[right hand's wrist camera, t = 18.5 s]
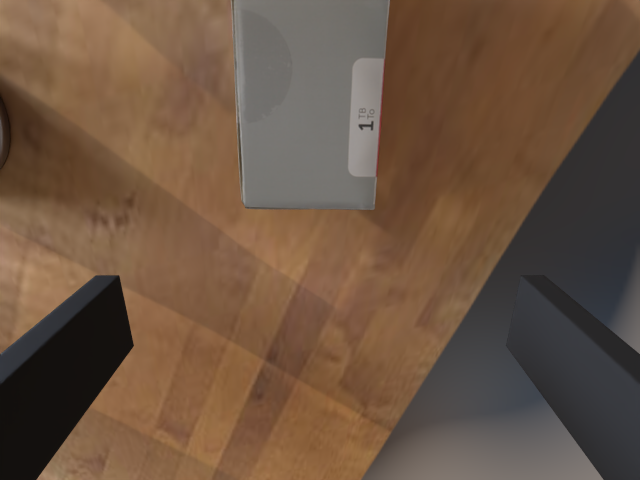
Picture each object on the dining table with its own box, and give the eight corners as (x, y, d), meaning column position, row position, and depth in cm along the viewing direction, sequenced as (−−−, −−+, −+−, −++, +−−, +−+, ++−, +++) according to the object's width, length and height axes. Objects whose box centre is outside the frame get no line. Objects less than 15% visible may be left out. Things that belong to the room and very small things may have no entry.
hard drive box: (349, 158, 40) (374, 217, 21) (274, 156, 40) (235, 214, 21) (358, -18, 34) (403, -146, 16) (272, -21, 34) (215, -153, 16)
